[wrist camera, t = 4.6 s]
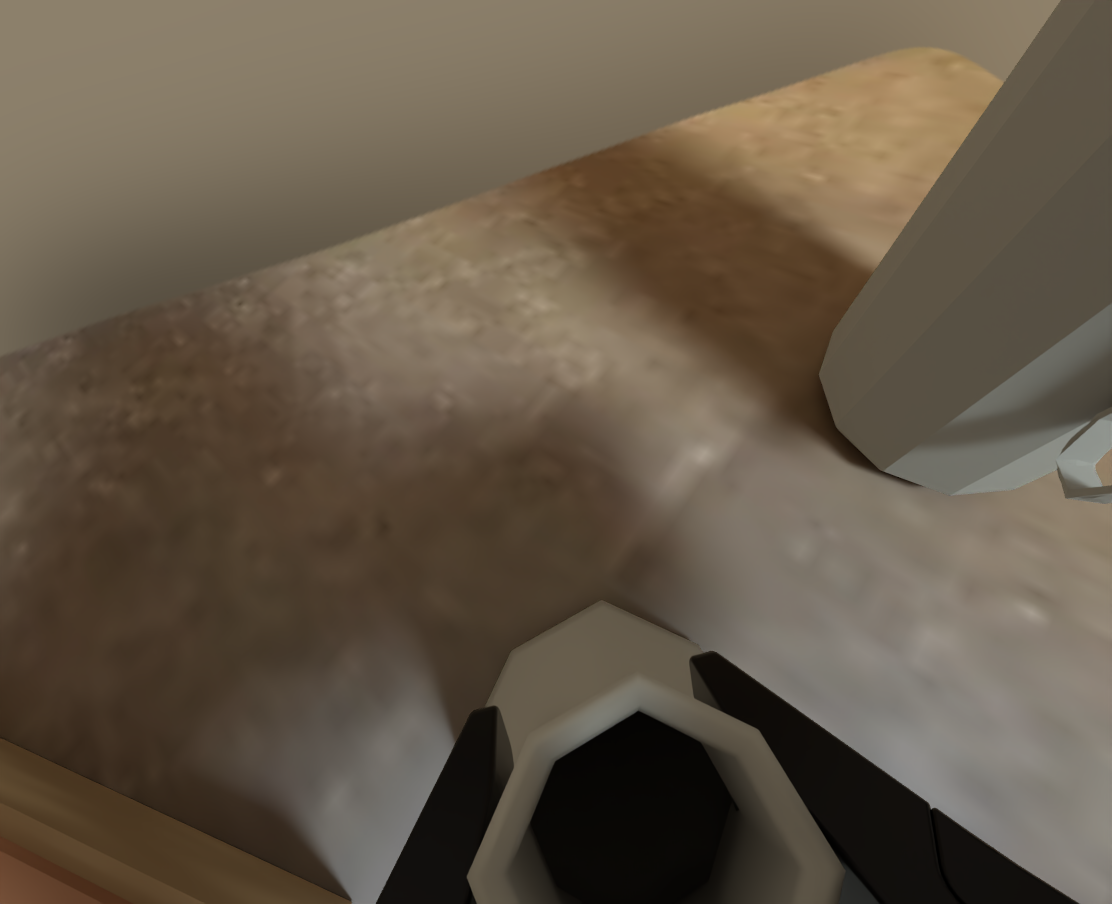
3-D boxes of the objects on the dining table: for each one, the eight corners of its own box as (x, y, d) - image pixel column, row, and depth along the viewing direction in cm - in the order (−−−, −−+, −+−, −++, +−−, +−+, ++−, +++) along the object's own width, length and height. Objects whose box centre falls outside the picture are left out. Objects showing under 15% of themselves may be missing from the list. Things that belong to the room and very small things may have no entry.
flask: (625, 1017, 12) (756, 2128, 3) (414, 757, 14) (99, 883, 5) (810, 748, 14) (1253, 866, 5) (598, 557, 16) (613, 380, 7)
